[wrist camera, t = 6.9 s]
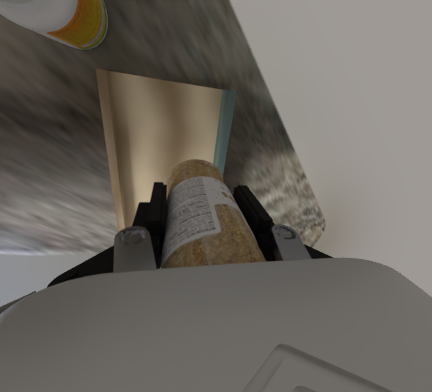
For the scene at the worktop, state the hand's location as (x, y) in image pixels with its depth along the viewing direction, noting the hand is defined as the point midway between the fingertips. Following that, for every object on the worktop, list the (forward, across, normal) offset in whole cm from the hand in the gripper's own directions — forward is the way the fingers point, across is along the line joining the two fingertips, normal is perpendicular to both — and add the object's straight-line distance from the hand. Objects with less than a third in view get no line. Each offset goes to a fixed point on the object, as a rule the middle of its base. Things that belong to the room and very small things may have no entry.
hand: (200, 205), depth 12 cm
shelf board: (+13, +2, +2) cm, 13 cm away
